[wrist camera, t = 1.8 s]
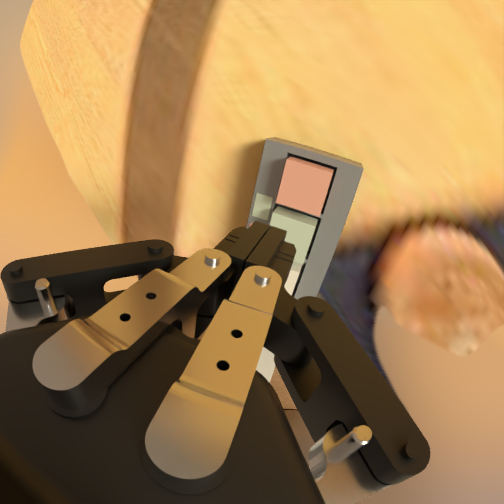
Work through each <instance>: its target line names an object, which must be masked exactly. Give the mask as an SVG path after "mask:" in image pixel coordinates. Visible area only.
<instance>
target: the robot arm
mask: <svg viewBox="0 0 504 504" xmlns="http://www.w3.org/2000/svg"><path fill="white" fill-rule="evenodd" d="M286 234H287V231H286V230H283V229H280V228H277V227H274V226H271V225H268V224H265V223H262V222H259V221H255V222H254V223H253V224H252V225H251V226H250V227H249V228H248V229H247V228H244V227H239V228H236V229H233V230H232V231H231V232H230V233H229V234H228V235H227V236H226V237H225V238H224V239H223V240H222V241H221V242H220V243H219V244H218V245H217V246H216V247H215V248H214V249H202V250H199V251H197V252H196V253H195V254H193V255H192V256H191V257H189V258H186V257H180V256H174V255H173V254H174V248H173V246H172V245H171V244H170V243H168V242H166V241H163V240H145V241H138V242H130V243H123V244H116V245H109V246H102V247H95V248H89V249H82V250H75V251H69V252H63V253H56V254H50V255H44V256H38V257H32V258H26V259H20V260H15V261H13V262H11V263H9V264H8V265H6V266H5V267H4V268H3V270H2V272H1V279H2V282H3V285H4V288H5V291H6V293H7V298H8V301H9V306H8V314H7V324H6V332H4V333H2V334H0V504H358V503H360V502H361V501H363V500H365V499H366V498H368V497H369V496H371V495H373V494H374V493H377V492H379V491H382V490H384V489H386V488H389V487H391V486H393V485H395V484H397V483H400V482H402V481H404V480H406V479H408V478H410V477H412V476H414V475H416V474H418V473H420V472H421V471H423V470H424V469H425V468H426V466H427V464H428V462H429V459H430V448H429V445H428V442H427V440H426V439H425V438H424V436H423V434H422V433H421V431H420V430H419V428H418V427H417V426H416V424H415V422H414V421H413V419H412V418H411V416H410V415H409V413H408V412H407V411H406V409H405V408H404V406H403V405H402V403H401V402H400V400H399V399H398V398H397V396H396V395H395V393H394V392H393V390H392V389H391V388H390V386H389V385H388V383H387V382H386V380H385V379H384V378H383V376H382V375H381V373H380V372H379V371H378V369H377V368H376V366H375V365H374V364H373V362H372V361H371V359H370V358H369V357H368V355H367V354H366V352H365V351H364V350H363V348H362V347H361V346H360V344H359V343H358V341H357V340H356V339H355V337H354V336H353V335H352V333H351V332H350V331H349V329H348V328H347V327H346V325H345V324H344V323H343V321H342V320H341V318H340V317H339V316H338V314H337V313H336V312H335V310H334V309H333V308H332V307H331V305H330V304H328V303H327V302H326V301H324V300H322V299H320V298H317V297H313V296H305V297H301V298H299V299H298V300H297V299H296V298H294V297H293V296H291V295H290V294H289V293H288V292H287V291H286V289H285V287H284V286H285V283H286V281H287V279H288V276H289V273H290V270H291V267H292V264H293V261H294V258H295V254H296V248H295V245H294V244H291V243H289V242H286V241H285V238H286ZM135 275H138V278H139V281H137V282H136V283H135V284H133V285H132V286H130V287H129V288H128V289H126V290H121V291H115V292H105V291H104V288H103V287H104V284H105V283H106V282H107V281H109V280H111V279H117V278H123V277H129V276H135ZM263 347H264V348H266V349H267V350H269V351H270V352H272V353H273V354H274V363H275V365H276V367H277V369H278V371H279V373H280V375H281V377H282V379H283V381H284V383H285V385H286V387H287V390H288V392H289V394H290V396H291V398H292V400H293V402H294V404H295V406H296V408H297V410H298V411H297V410H284V409H283V407H282V405H281V402H280V400H279V398H278V396H277V393H276V392H275V390H274V388H273V387H272V385H271V384H270V383H269V382H268V380H267V379H266V378H265V377H264V376H263V375H262V374H261V373H259V372H258V371H257V370H256V367H257V364H258V361H259V358H260V355H261V352H262V349H263ZM309 465H310V467H311V471H310V469H309Z"/></svg>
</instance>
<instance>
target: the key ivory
mask: <svg viewBox="0 0 504 504" xmlns="http://www.w3.org/2000/svg"><path fill="white" fill-rule="evenodd" d="M302 265H303V264H300V263H297V262H294V261H293V264H292V267H291V270H290V273H289V276H288V279H287V281H286V283H285V286H284V287H285V289H286V291H287V292H288V293H289V294H290V295H291V296H292V293H293V290H294V287H295V285H296V282H297V279H298V276H299V273H300V270H301V268H302Z"/></svg>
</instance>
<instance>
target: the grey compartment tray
mask: <svg viewBox="0 0 504 504" xmlns="http://www.w3.org/2000/svg"><path fill="white" fill-rule="evenodd" d="M289 157H294V158H298V159H301V160H305V161H308V162H311V163H314V164H318V165H321V166H324V167H327V168H330V169H333V170H334V171H333V175H332V178H331V181H330V185H329V188H328V191H327V195H326V198H325V201H324V204H323V207H322V210H321V214H320V217H318V216H315V215H312V214H309V213H306V212H303V211H300V210H297V209H294V208H291V207H288V206H285V205H282V204H279V203H276V199H277V195H278V191H279V187H280V183H281V179H282V175H283V171H284V167H285V163H286V159H288V158H289ZM362 172H363V166H362V164H361V163H358V162H355V161H352V160H349V159H346V158H343V157H340V156H337V155H334V154H331V153H328V152H325V151H322V150H318V149H315V148H312V147H308V146H305V145H301V144H298V143H294V142H291V141H287V140H283V139H279V138H275V137H274V138H269V139H266V141H265V145H264V150H263V154H262V159H261V163H260V168H259V172H258V177H257V181H256V186H255V191H254V195H253V200H252V204H251V209H250V214H249V218H248V223H247V229H248V228H249V227H250V226H251V225H252V224H253V223H254V222H255V221H259V222H262V223H265V224H268V225H270V222H271V218H272V214H273V212H274V210H275V209H276V208H277V207H278V206H279V207H282V208H285V209H288V210H291V211H295V212H298V213H301V214H304V215H307V216H310V217H313V218H316V219H318V221H317V224H316V228H315V231H314V234H313V237H312V240H311V243H310V246H309V249H308V252H307V254H306V257H305V260H304V263H303V265H302V268H301V270H300V273H299V276H298V279H297V282H296V285H295V287H294V290H293V293H292V296H293V297H294V298H296V299H297V300H298V299H299V298H301V297H305V296H313V297H316V296H317V293H318V291H319V289H320V286H321V284H322V281H323V279H324V277H325V274H326V272H327V269H328V267H329V264H330V262H331V259H332V257H333V254H334V251H335V249H336V246H337V244H338V241H339V238H340V236H341V233H342V230H343V227H344V225H345V222H346V219H347V216H348V214H349V211H350V208H351V205H352V202H353V199H354V196H355V193H356V190H357V187H358V184H359V181H360V178H361V175H362Z"/></svg>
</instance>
